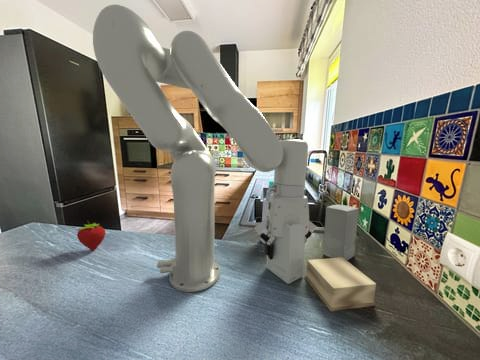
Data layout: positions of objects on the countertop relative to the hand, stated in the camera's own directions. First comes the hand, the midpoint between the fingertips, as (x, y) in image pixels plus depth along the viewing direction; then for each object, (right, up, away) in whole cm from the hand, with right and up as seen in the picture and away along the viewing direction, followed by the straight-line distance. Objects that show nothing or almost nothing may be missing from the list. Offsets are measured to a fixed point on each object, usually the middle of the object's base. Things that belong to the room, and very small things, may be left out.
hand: (284, 255), depth 49 cm
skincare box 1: (0, -5, +1) cm, 5 cm away
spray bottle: (-1, -2, +18) cm, 18 cm away
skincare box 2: (+19, -4, +10) cm, 22 cm away
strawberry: (-57, -2, +9) cm, 58 cm away
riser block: (+11, -6, -5) cm, 14 cm away
